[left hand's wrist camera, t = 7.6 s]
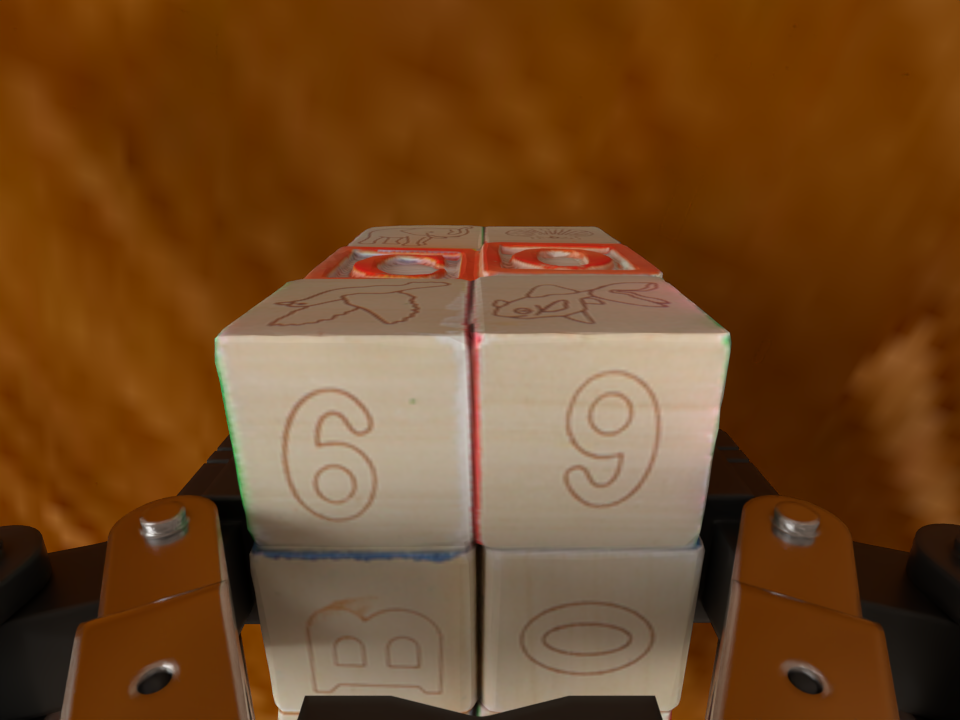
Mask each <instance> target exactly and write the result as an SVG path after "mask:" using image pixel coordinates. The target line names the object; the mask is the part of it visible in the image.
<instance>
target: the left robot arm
mask: <svg viewBox="0 0 960 720" xmlns="http://www.w3.org/2000/svg"><path fill="white" fill-rule="evenodd" d="M699 536H700V538H701V539H702V541H703V545H704V549H705V554H704V560H703V566H702V572H701V578H700V584H699V590H698V596H697V602H696V608H695V614H694V620H693V623H711V624H712V626H713V628H714V630H715V632H716V634H717V636H718V643H717V648H716V654H715V660H714V666H713V672H712V678H711V685H710V691H709V697H708V703H707V709H706V715H705V720H960V525H954V524H931V525H926V526H923V527H922V528H920V529H919V530H918V531H917V532H916V535H915V538H914V541H913V544H912V548H911V551H910V552H904V551H899V550H894V549H889V548H884V547H878V546H873V545H868V544H863V543H858V542H854V541H852V536H851V533H850V531H849V529H848V527H847V526H846V525H845V524H844V523H843V522H842V521H841V520H840V519H839V518H838V517H837V516H835V515H834V514H832V513H831V512H829V511H827V510H826V509H824V508H822V507H820V506H817V505H815V504H813V503H810V502H807V501H804V500H801V499H797V498H793V497H788V496H779V494H778V493H777V492H776V491H775V490H774V488H773V487H772V486H771V485H770V484H769V483H768V481H767V480H766V479H765V478H764V477H763V475H762V474H761V473H760V472H759V471H758V470H757V468H756V467H755V466H754V465H753V464H752V463H749V459H748V458H747V457H746V455H745V454H744V453H743V452H742V451H741V450H739V447H738V446H737V445H736V444H735V443H734V441H733V440H732V439H731V438H730V437H729V435H728V434H727V433H726V432H724V431H722V430H721V429H718V434H717V438H716V443H715V449H714V454H713V460H712V466H711V473H710V481H709V487H708V493H707V499H706V505H705V511H704V516H703V521H702V526H701V530H700V534H699ZM253 543H254V540H253V538H252V536H251V535H250V533H249V531H248V529H247V522H246V515H245V511H244V508H243V504H242V499H241V495H240V490H239V485H238V478H237V472H236V465H235V459H234V454H233V449H232V444H231V438H230V434H229V435H228V437H227V438H226V439H225V440H224V441H223V442H222V444H221V445H220V446H219V447H218V450H217V451H215V452H214V453H213V454H212V455H211V456H210V458H209V459H208V460H207V464H204V465H203V466H202V467H201V468H200V469H199V470H198V472H197V473H196V474H195V475H194V476H193V477H192V478H191V480H190V481H189V482H188V483H187V484H186V485H185V487H184V488H183V489H182V490H181V491H180V492H179V494H178V495H177V496H172V497H167V498H163V499H159V500H156V501H153V502H150V503H147V504H145V505H143V506H140V507H138V508H136V509H134V510H133V511H131V512H129V513H128V514H126V515H125V516H123V517H122V518H121V519H120V520H119V521H118V522H117V523H116V524H115V525H114V526H113V527H112V529H111V531H110V533H109V536H108V541H106V542H102V543H98V544H94V545H88V546H83V547H78V548H73V549H68V550H62V551H57V552H52V553H47V550H46V547H45V544H44V541H43V537H42V535H41V533H40V532H39V531H38V530H37V529H35V528H32V527H29V526H23V525H12V526H2V527H0V720H255V715H254V709H253V703H252V697H251V691H250V685H249V678H248V672H247V666H246V660H245V654H244V648H243V643H242V638H241V630H242V628H243V626H244V624H260V619H259V613H258V607H257V601H256V595H255V590H254V585H253V580H252V576H251V569H250V556H249V554H250V551H251V549H252V546H253ZM297 720H663V719H662V716H661V713H660V709H659V706H658V703H657V700H656V697H655V696H565V697H561V698H557V699H553V700H549V701H545V702H541V703H537V704H533V705H529V706H525V707H521V708H517V709H513V710H509V711H505V712H501V713H497V714H493V715H488V716H472V715H467V714H463V713H459V712H455V711H451V710H447V709H443V708H439V707H435V706H431V705H427V704H423V703H419V702H415V701H411V700H407V699H403V698H399V697H395V696H305V697H304V700H303V703H302V706H301V709H300V713H299V716H298V719H297Z"/></svg>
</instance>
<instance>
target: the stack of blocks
mask: <svg viewBox="0 0 960 720" xmlns="http://www.w3.org/2000/svg"><path fill="white" fill-rule="evenodd" d="M662 276H663V273H662V272H661V271H660V270H659V269H658V268H656V267H655V266H654V265H652V264H651V263H650V262H648V261H647V260H646V259H644V258H643V257H641V256H640V255H639V254H637V253H636V252H634V251H633V250H631V249H630V248H629V247H627V246H625V245H622V244H621V243H620V242H619V241H617V240H615V239H614V238H612V237H611V236H610V235H608V234H606V233H605V232H603V231H602V230H601V229H599V228H597V227H479V226H448V225H422V226H388V227H373V228H370V229H367V230H365V231H364V232H363V233H361V234H360V235H359V236H358V237H357V238H355V239H354V240H353V241H352V242H351V243H350V244H349V245H348V246H345V247H341V248H340V249H338V250H337V251H336V252H335V253H333V254H332V255H331V256H329V257H328V258H327V259H326V260H325V261H323V262H322V263H321V264H319V265H318V266H317V267H316V268H314V269H313V270H312V271H311V272H310V273H309V274H308V275H307V276H306V277H305V278H304V279H302V280H296V281H291V282H287V283H286V284H285V285H284V286H283V287H281V288H280V289H279V290H277V291H276V292H274V293H273V294H272V295H270V296H269V297H268V298H266V299H265V300H263V301H262V302H260V303H259V304H258V305H256V306H255V307H253V308H252V309H251V310H249V311H248V312H247V313H245V314H244V315H242V316H241V317H240V318H238V319H237V320H235V321H234V322H233V323H231V324H230V325H228V326H227V327H226V328H224V329H223V330H222V331H221V333H220V334H219V335H218V336H217V337H216V338H215V364H216V368H217V372H218V376H219V380H220V385H221V391H222V396H223V401H224V407H225V412H226V418H227V423H228V428H229V433H230V438H231V444H232V449H233V454H234V459H235V465H236V472H237V478H238V485H239V490H240V495H241V499H242V504H243V508H244V511H245V515H246V522H247V529H248V531H249V533H250V535H251V536H252V538H253V540H254V543H253V546H252V549H251V551H250V554H249V556H250V569H251V576H252V580H253V585H254V590H255V595H256V601H257V607H258V613H259V619H260V625H261V631H262V636H263V641H264V646H265V651H266V656H267V661H268V666H269V671H270V677H271V684H272V691H273V696H274V700H275V704H276V705H277V706H278V708H279V712H278V720H297V719H298V716H299V713H300V709H301V706H302V703H303V700H304V697H305V696H395V697H399V698H403V699H407V700H411V701H415V702H419V703H423V704H427V705H431V706H435V707H439V708H443V709H447V710H451V711H455V712H459V713H463V714H467V715H472V716H488V715H493V714H497V713H501V712H505V711H509V710H513V709H517V708H521V707H525V706H529V705H533V704H537V703H541V702H545V701H549V700H553V699H557V698H561V697H565V696H655V697H656V700H657V703H658V706H659V709H660V713H661V716H662V719H663V720H671V714H672V709H673V708H675V707H676V706H677V705H678V704H679V701H680V698H681V692H682V686H683V680H684V674H685V668H686V662H687V656H688V650H689V644H690V638H691V632H692V626H693V620H694V614H695V608H696V602H697V596H698V590H699V584H700V578H701V572H702V566H703V560H704V554H705V549H704V545H703V541H702V539H701V538H700V536H699V534H700V530H701V526H702V521H703V516H704V511H705V505H706V499H707V493H708V487H709V481H710V473H711V466H712V460H713V454H714V449H715V443H716V438H717V434H718V429H719V419H720V408H721V404H722V399H723V395H724V389H725V382H726V376H727V370H728V364H729V357H730V351H731V337H730V333H729V332H728V331H727V330H726V329H724V328H723V327H722V326H721V325H719V324H718V323H717V322H716V321H715V320H713V319H712V318H711V317H710V316H709V315H708V314H706V313H705V312H704V311H703V310H702V309H700V308H699V307H698V306H697V305H695V304H694V303H693V302H692V301H690V300H689V299H688V298H686V297H685V296H684V295H683V294H681V293H680V292H679V291H678V290H677V289H676V288H675V287H673V286H672V285H671V284H669V283H667V282H665V281H664V279H663V278H662Z"/></svg>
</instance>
